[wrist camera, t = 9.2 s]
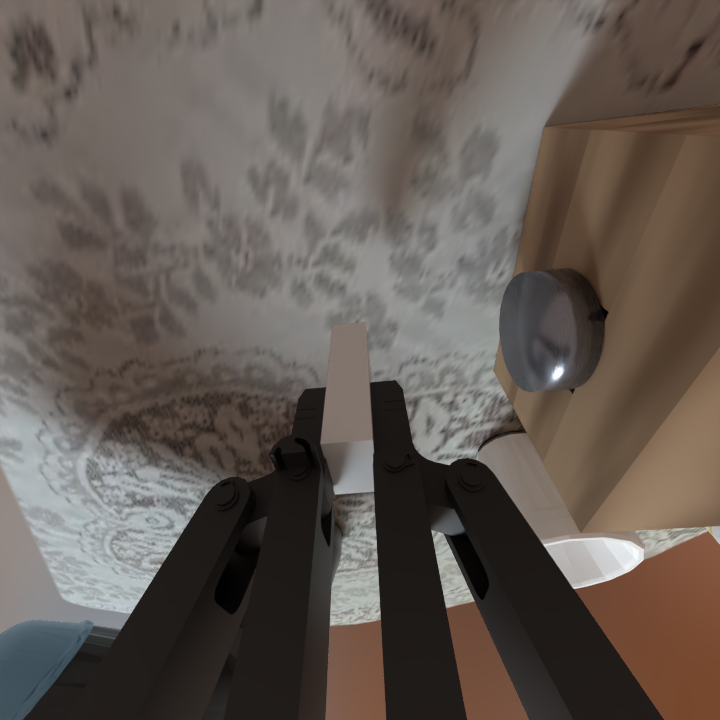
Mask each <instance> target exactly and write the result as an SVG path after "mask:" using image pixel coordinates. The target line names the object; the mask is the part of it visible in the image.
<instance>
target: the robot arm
mask: <svg viewBox="0 0 720 720" xmlns="http://www.w3.org/2000/svg"><path fill="white" fill-rule="evenodd" d="M269 455H270V458H271V460H272V462H273V464H274V466H275V468H276V470H275V471H274V472H273V473H271V474H269V475H267V476H264V477H262V478H259V479H257V480H254V481H251V482H249V483H247V481H246V480H245V479H242V478H240V477H230V478H227V479H225V480H222V481H220V482H219V483H218V484H216V485H215V486H213V487H212V489H211V490H210V491H209V492H208V493H207V495H206V496H205V498H204V499H203V501H202V502H201V504H200V506H199V507H198V509H197V510H196V512H195V514H194V515H193V517H192V518H191V520H190V522H189V523H188V525H187V526H186V528H185V529H184V531H183V533H182V534H181V536H180V537H179V539H178V541H177V542H176V544H175V545H174V547H173V548H172V550H171V552H170V553H169V555H168V556H167V558H166V560H165V561H164V563H163V564H162V566H161V567H160V569H159V571H158V572H157V574H156V575H155V577H154V579H153V580H152V582H151V583H150V585H149V586H148V588H147V590H146V591H145V593H144V594H143V596H142V598H141V599H140V601H139V602H138V604H137V605H136V607H135V609H134V610H133V612H132V613H131V615H130V617H129V618H128V620H127V621H126V623H125V625H124V626H123V628H122V629H121V630H120V629H114V628H107V627H100V626H93V622H91V621H88V620H86V621H83V622H80V623H72V622H60V621H48V620H30V621H25V622H22V623H19V624H16V625H14V626H13V627H11V628H9V629H7V630H5V631H4V632H2V633H1V634H0V720H325V714H326V713H325V712H326V691H327V670H328V646H329V626H330V604H331V586H332V583H333V580H334V577H335V573H336V570H337V567H338V564H339V561H340V557H341V546H342V534H341V531H340V529H339V528H338V526H337V525H336V524H335V523H334V515H335V511H334V505H333V502H332V499H333V489H334V493H335V495H336V494H350V493H363V492H374V498H375V516H376V535H377V553H378V572H379V591H380V609H381V627H382V646H383V664H384V683H385V702H386V720H467V718H466V712H465V707H464V702H463V697H462V691H461V686H460V680H459V675H458V670H457V665H456V660H455V654H454V649H453V644H452V638H451V633H450V628H449V622H448V617H447V612H446V606H445V601H444V596H443V590H442V585H441V580H440V575H439V569H438V564H437V559H436V553H435V548H434V543H433V537H432V532H431V530H434V531H437V532H441V533H444V535H445V537H446V539H447V542H448V544H449V546H450V548H451V550H452V553H453V555H454V557H455V559H456V561H457V563H458V566H459V568H460V570H461V572H462V574H463V576H464V579H465V581H466V583H467V585H468V587H469V589H470V592H471V594H472V596H473V598H474V600H475V603H476V604H477V607H478V609H479V611H480V613H481V615H482V618H483V619H484V622H485V624H486V626H487V628H488V631H489V633H490V635H491V637H492V639H493V642H494V644H495V646H496V648H497V650H498V652H499V654H500V657H501V659H502V661H503V663H504V666H505V668H506V670H507V672H508V674H509V676H510V679H511V681H512V683H513V685H514V687H515V689H516V692H517V694H518V696H519V698H520V700H521V703H522V705H523V707H524V709H525V711H526V713H527V716H528V718H529V720H664V719H663V718H662V716H661V715H660V714H659V712H658V710H657V709H656V708H655V706H654V705H653V703H652V702H651V701H650V699H649V697H648V696H647V695H646V693H645V692H644V690H643V689H642V688H641V686H640V684H639V683H638V681H637V680H636V679H635V677H634V676H633V674H632V673H631V671H630V670H629V668H628V667H627V665H626V664H625V663H624V661H623V660H622V658H621V657H620V655H619V654H618V652H617V651H616V650H615V648H614V647H613V645H612V644H611V642H610V641H609V639H608V638H607V637H606V635H605V634H604V632H603V631H602V629H601V628H600V626H599V625H598V623H597V622H596V621H595V619H594V618H593V616H592V615H591V613H590V612H589V610H588V609H587V608H586V606H585V605H584V603H583V602H582V600H581V599H580V598H579V596H578V594H577V593H576V592H575V590H574V589H573V587H572V586H571V584H570V583H569V581H568V580H567V579H566V577H565V576H564V574H563V573H562V571H561V570H560V568H559V567H558V566H557V564H556V563H555V561H554V560H553V558H552V557H551V555H550V554H549V552H548V551H547V550H546V548H545V547H544V545H543V544H542V542H541V541H540V539H539V538H538V537H537V535H536V534H535V532H534V531H533V529H532V528H531V526H530V525H529V524H528V522H527V521H526V519H525V518H524V516H523V515H522V513H521V512H520V510H519V509H518V508H517V506H516V505H515V503H514V502H513V500H512V499H511V497H510V496H509V495H508V493H507V492H506V490H505V489H504V487H503V486H502V484H501V483H500V482H499V480H498V479H497V477H496V476H495V474H494V473H493V472H492V471H491V470H490V469H489V468H488V466H487V465H485V464H483V463H481V462H480V461H478V460H474V459H469V458H466V459H458V460H457V461H455V462H453V463H451V465H445V464H441V463H436V462H433V461H430V460H428V459H426V458H424V457H422V456H421V455H420V454H419V453H418V452H417V451H416V449H415V448H414V445H413V442H412V437H411V432H410V426H409V421H408V416H407V410H406V405H405V399H404V394H403V389H402V388H401V387H400V385H399V384H398V383H397V382H396V380H394V381H383V382H372V383H371V369H370V360H369V351H368V341H367V332H366V323H365V322H361V323H351V324H341V325H333V326H332V336H331V345H330V355H329V365H328V375H327V384H326V387H325V388H314V389H305V391H304V392H303V393H302V395H301V396H300V398H299V399H298V404H297V409H296V414H295V421H294V424H293V429H292V434H291V435H290V436H287V437H285V438H283V439H281V440H280V441H278V442H277V443H276V444H275V445H274V446H273V448H272V450H271V452H270V454H269Z"/></svg>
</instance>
